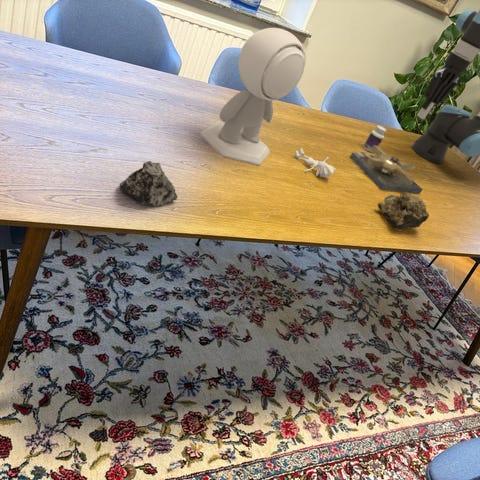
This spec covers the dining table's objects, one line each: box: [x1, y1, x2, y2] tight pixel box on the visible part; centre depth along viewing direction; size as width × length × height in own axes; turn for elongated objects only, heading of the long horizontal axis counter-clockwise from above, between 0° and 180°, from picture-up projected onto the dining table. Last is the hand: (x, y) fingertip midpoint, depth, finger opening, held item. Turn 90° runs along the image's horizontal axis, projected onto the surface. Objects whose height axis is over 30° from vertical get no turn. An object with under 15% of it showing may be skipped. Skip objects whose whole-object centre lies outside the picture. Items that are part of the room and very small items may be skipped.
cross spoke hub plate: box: [349, 150, 423, 195], centre depth 163 cm, size 20×20×3 cm
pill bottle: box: [362, 125, 387, 154], centre depth 177 cm, size 5×5×10 cm
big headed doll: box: [199, 27, 306, 166], centre depth 127 cm, size 20×23×35 cm
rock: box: [119, 160, 178, 207], centre depth 99 cm, size 13×10×10 cm
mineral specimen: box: [377, 192, 430, 231], centre depth 135 cm, size 14×13×10 cm
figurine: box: [294, 147, 337, 179], centre depth 143 cm, size 12×5×15 cm
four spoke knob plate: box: [367, 145, 416, 185], centre depth 161 cm, size 22×22×4 cm
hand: (420, 117), depth 169 cm, fingers closed
